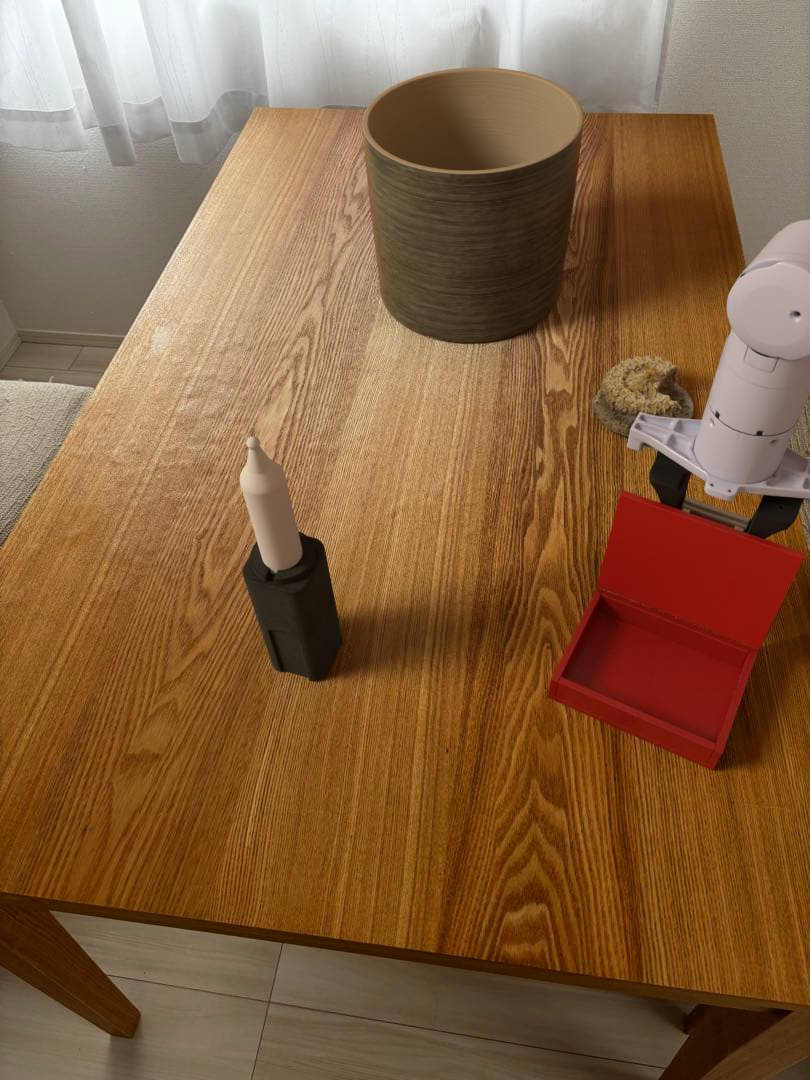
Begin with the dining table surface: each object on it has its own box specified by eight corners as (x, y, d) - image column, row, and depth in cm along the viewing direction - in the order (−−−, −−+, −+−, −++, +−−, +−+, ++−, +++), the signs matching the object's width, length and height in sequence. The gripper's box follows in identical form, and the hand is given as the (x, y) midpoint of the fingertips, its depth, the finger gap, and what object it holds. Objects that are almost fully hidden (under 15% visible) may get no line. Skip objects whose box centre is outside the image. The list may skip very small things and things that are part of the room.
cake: (598, 447, 86) (600, 407, 82) (588, 381, 92) (589, 340, 88) (701, 440, 85) (709, 399, 81) (684, 373, 91) (690, 332, 87)
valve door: (804, 558, 59) (815, 521, 62) (619, 494, 64) (637, 462, 66) (759, 650, 67) (771, 613, 69) (596, 586, 71) (613, 554, 74)
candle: (346, 634, 73) (306, 418, 54) (324, 685, 70) (272, 476, 51) (292, 619, 74) (233, 402, 55) (267, 668, 72) (195, 458, 52)
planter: (356, 255, 108) (339, 88, 92) (524, 220, 111) (535, 53, 95) (406, 365, 94) (395, 192, 79) (595, 322, 97) (621, 147, 82)
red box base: (712, 771, 64) (722, 753, 62) (547, 697, 69) (550, 679, 66) (748, 669, 69) (758, 649, 67) (592, 607, 74) (596, 586, 71)
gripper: (624, 409, 56) (597, 538, 67) (858, 484, 52) (789, 610, 62) (660, 346, 60) (629, 477, 71) (881, 410, 55) (812, 541, 66)
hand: (706, 535), depth 67 cm, fingers closed on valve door, 5 cm apart
